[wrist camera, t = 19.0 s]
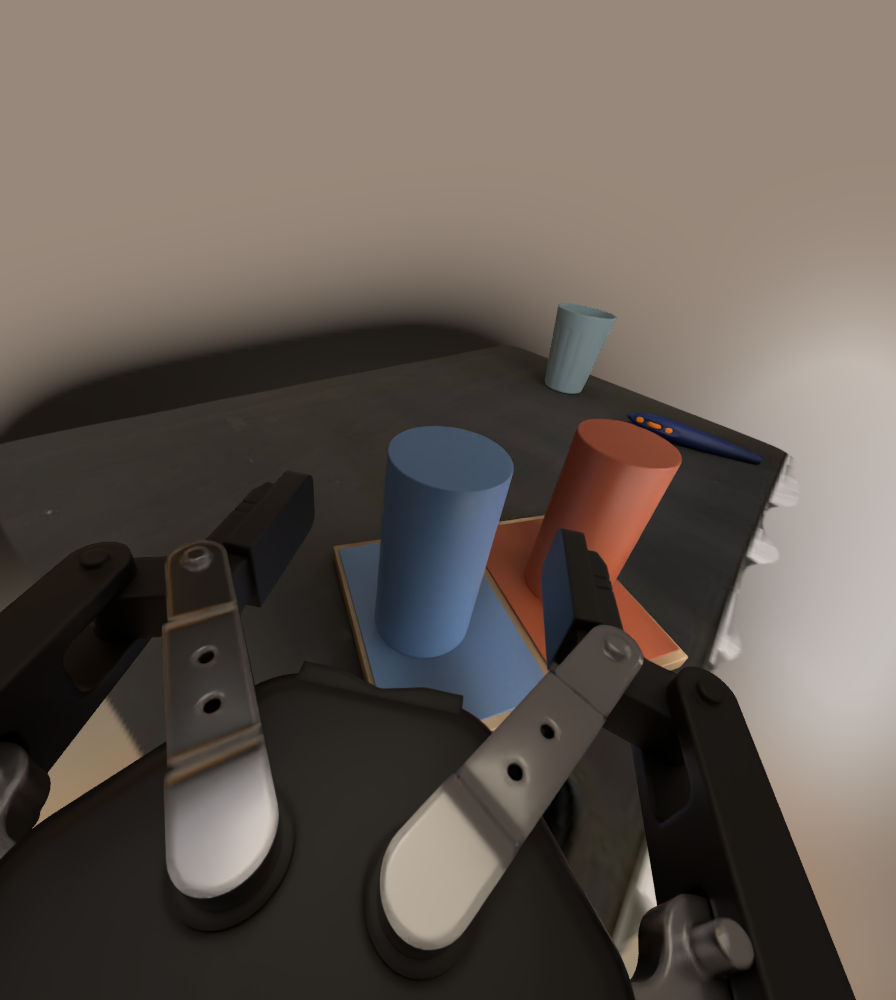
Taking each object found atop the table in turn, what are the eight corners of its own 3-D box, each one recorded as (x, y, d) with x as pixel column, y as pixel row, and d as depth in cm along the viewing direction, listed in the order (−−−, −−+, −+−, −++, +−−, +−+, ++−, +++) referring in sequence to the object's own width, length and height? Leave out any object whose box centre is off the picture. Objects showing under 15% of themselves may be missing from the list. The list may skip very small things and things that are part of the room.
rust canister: (553, 623, 23) (625, 473, 17) (510, 561, 27) (557, 419, 21) (620, 605, 25) (705, 464, 19) (572, 549, 29) (631, 416, 23)
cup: (591, 401, 57) (621, 322, 51) (537, 390, 57) (560, 310, 51) (586, 383, 63) (612, 311, 57) (537, 373, 64) (557, 300, 58)
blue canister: (389, 670, 19) (410, 498, 13) (365, 590, 23) (373, 427, 17) (483, 644, 21) (537, 484, 15) (447, 574, 25) (480, 423, 19)
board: (388, 778, 17) (390, 766, 16) (333, 557, 26) (332, 544, 25) (680, 667, 23) (690, 655, 23) (552, 522, 33) (557, 511, 32)
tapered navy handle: (749, 466, 50) (760, 447, 49) (760, 474, 47) (773, 454, 46) (621, 422, 53) (630, 403, 52) (624, 426, 50) (633, 407, 49)
